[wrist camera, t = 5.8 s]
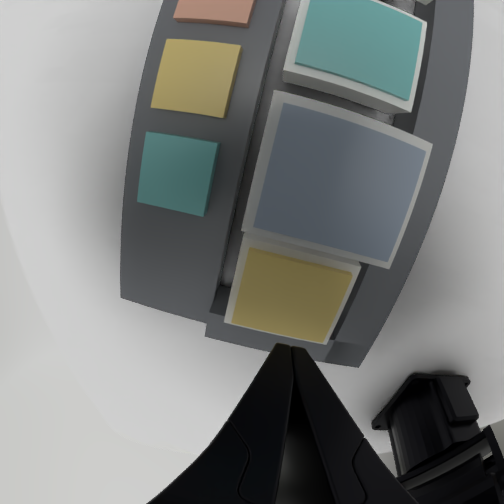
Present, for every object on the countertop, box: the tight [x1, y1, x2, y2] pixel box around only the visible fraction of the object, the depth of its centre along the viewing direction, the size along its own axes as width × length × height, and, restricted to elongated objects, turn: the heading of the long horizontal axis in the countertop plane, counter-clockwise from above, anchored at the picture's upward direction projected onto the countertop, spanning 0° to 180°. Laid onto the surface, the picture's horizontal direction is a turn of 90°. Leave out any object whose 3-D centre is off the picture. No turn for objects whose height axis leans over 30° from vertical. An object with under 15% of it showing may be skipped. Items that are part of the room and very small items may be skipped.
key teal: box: [283, 0, 427, 114], centre depth 9 cm, size 4×4×4 cm
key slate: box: [241, 90, 433, 269], centre depth 9 cm, size 4×4×4 cm
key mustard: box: [224, 232, 361, 345], centre depth 13 cm, size 4×4×4 cm
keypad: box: [120, 0, 474, 368], centre depth 10 cm, size 22×13×2 cm, turn 167°
